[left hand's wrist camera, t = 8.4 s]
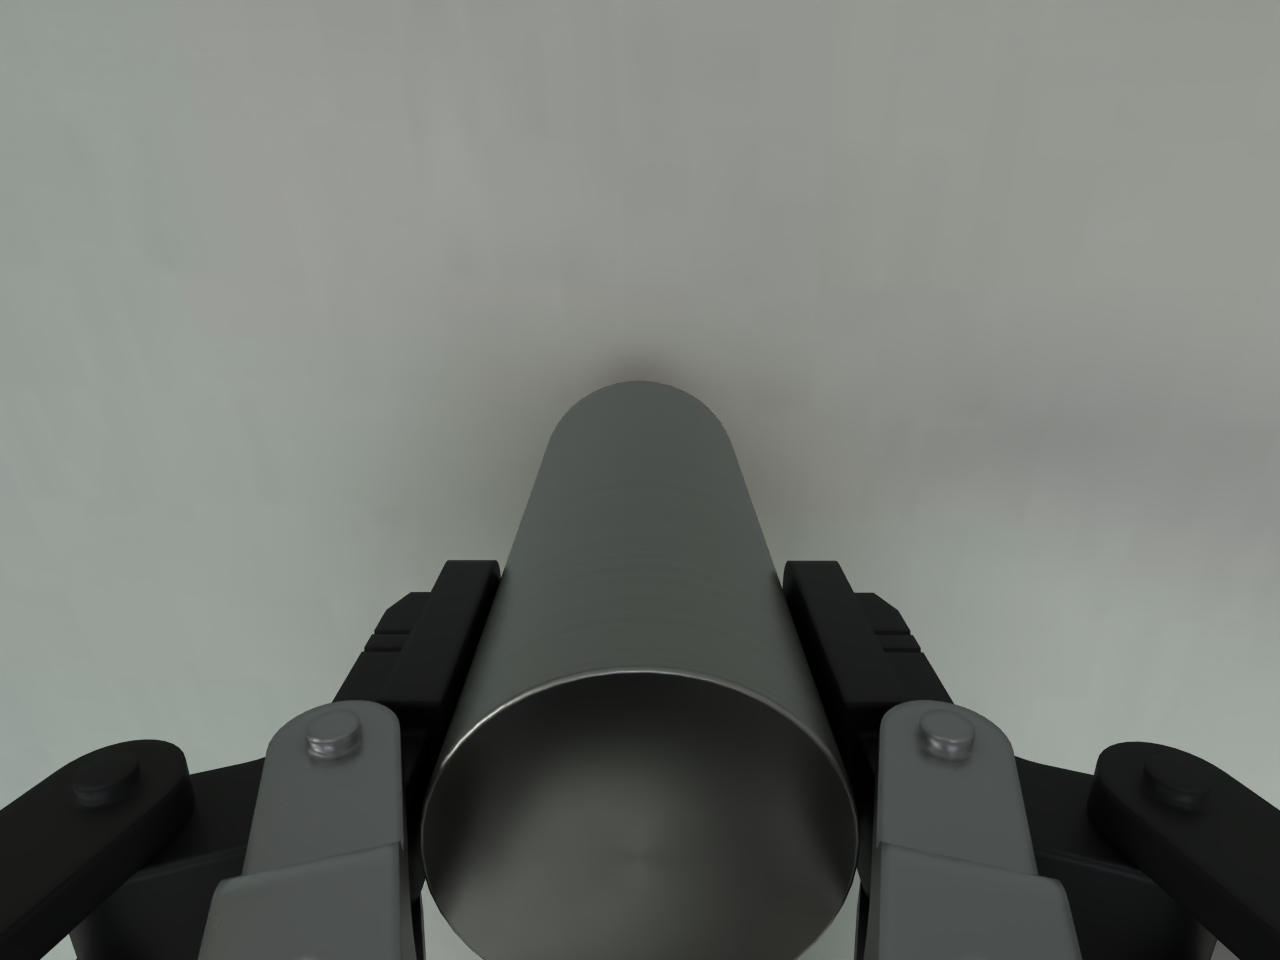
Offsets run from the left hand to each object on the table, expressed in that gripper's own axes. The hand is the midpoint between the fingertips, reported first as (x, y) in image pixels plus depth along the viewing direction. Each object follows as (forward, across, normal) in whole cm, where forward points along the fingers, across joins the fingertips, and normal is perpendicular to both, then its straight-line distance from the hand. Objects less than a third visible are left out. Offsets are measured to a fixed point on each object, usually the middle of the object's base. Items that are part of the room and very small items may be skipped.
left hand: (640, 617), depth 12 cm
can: (+6, 0, 0) cm, 6 cm away
